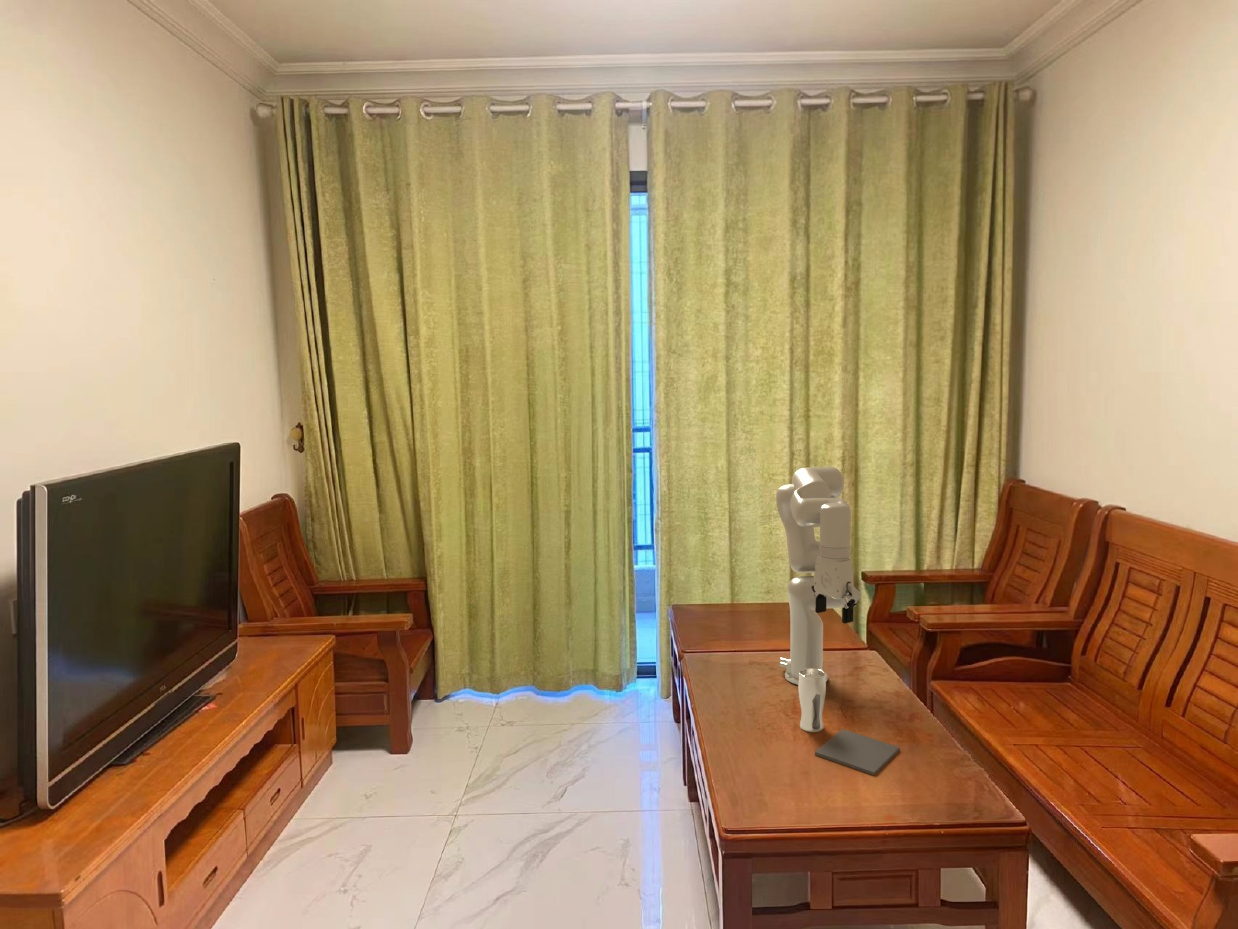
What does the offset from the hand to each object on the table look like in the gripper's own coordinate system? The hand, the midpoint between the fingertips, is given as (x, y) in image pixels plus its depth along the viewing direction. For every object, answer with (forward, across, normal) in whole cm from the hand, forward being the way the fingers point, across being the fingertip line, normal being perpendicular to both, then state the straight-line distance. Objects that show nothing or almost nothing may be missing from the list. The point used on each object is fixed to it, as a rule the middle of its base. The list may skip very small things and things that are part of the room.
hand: (834, 617), depth 200 cm
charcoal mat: (+30, +12, -3) cm, 33 cm away
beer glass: (+30, -4, -4) cm, 31 cm away
